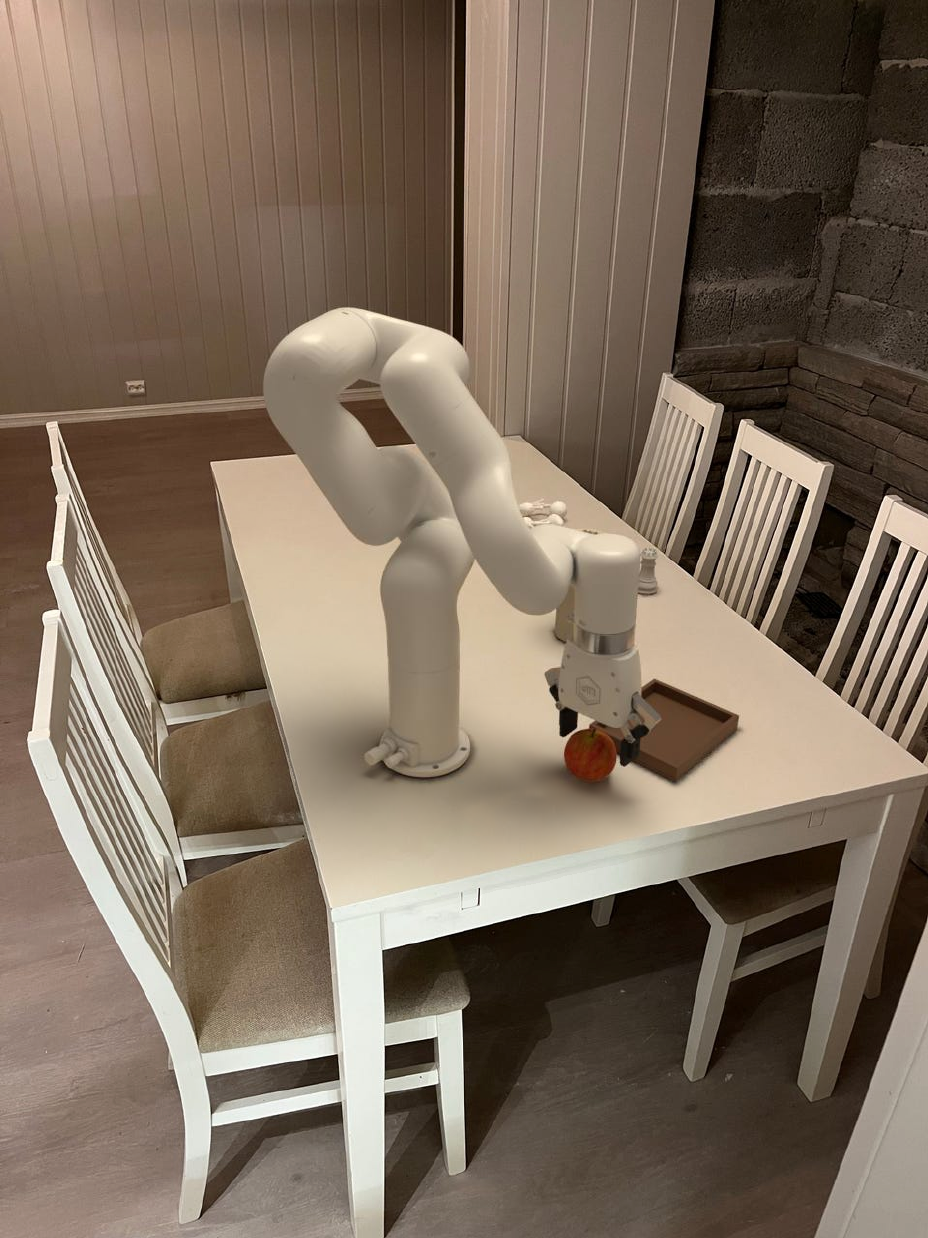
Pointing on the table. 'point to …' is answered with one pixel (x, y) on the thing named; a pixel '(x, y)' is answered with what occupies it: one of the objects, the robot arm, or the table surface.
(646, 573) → the rook chess piece
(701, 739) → the tray
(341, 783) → the table surface
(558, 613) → the travel mug
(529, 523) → the tangled rod sculpture
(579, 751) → the fruit
